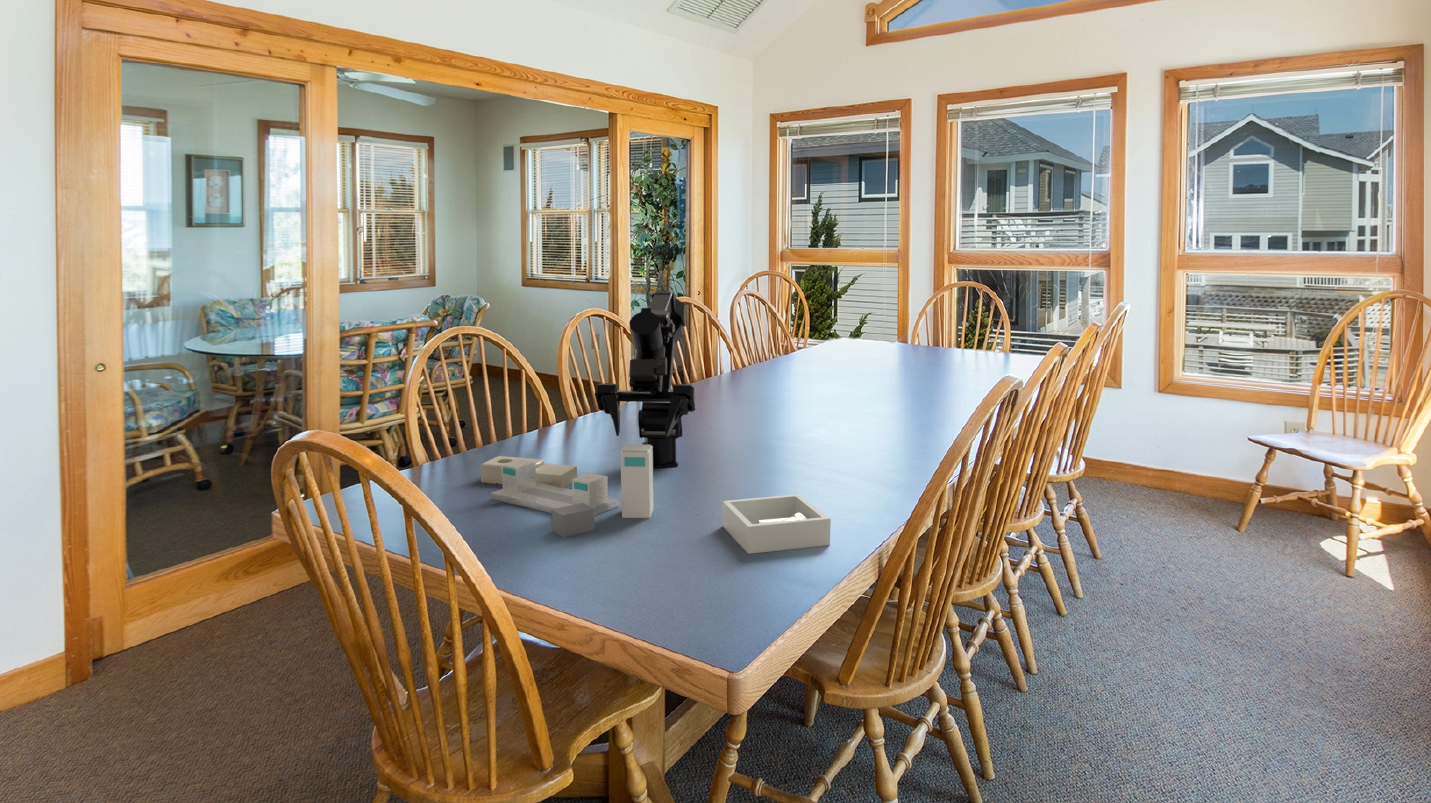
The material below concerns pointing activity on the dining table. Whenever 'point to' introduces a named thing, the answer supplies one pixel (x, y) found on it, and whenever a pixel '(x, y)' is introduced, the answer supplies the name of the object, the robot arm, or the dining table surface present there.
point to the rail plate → (551, 490)
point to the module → (637, 481)
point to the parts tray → (775, 523)
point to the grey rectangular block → (573, 520)
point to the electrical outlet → (544, 472)
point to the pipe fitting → (784, 519)
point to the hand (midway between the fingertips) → (641, 435)
